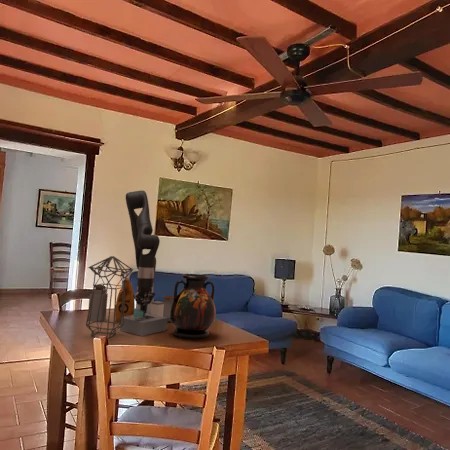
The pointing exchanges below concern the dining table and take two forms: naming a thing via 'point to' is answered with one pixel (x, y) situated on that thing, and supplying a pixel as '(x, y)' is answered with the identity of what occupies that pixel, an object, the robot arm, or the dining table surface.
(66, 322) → the dining table surface
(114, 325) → the geometric lantern
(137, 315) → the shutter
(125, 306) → the coffee package
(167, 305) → the coffee pot
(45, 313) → the dining table surface
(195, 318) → the amphora vase
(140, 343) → the dining table surface
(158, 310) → the plug
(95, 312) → the perfume bottle
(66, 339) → the dining table surface
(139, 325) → the socket
